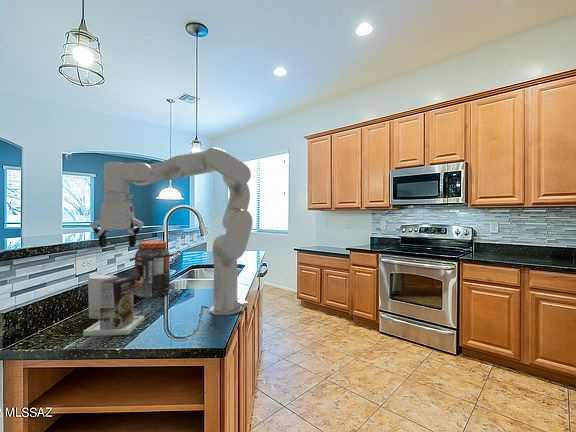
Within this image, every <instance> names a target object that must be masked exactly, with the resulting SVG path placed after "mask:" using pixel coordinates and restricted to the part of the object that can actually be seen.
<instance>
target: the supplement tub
mask: <svg viewBox="0 0 576 432" xmlns="http://www.w3.org/2000/svg"><path fill="white" fill-rule="evenodd" d="M170 257H171V255H170V250H169V249H167V241H160V240H155V241H154V240H152V241H150V240H149V241H141V242H139V243H138V250H136V252H135V254H134V294H135V296H136V297H139V298H144V299H151V298H152V299H153V298H159V297H162V296H163V297H164V296H165V295H167V294H169V292H170V279H171V278H170V276H171V275H170V272H171V271H170V266H171V265H170V264H171V262H170V259H171V258H170Z"/></svg>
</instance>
